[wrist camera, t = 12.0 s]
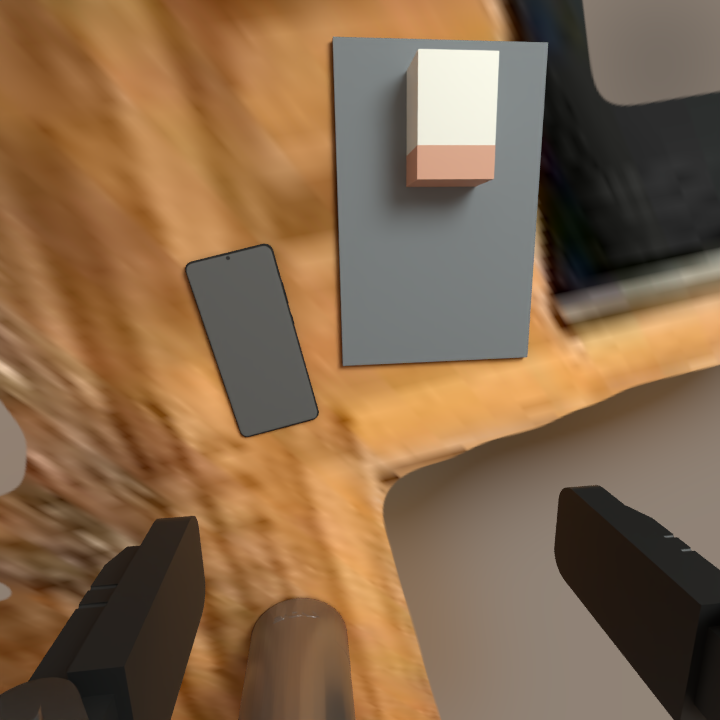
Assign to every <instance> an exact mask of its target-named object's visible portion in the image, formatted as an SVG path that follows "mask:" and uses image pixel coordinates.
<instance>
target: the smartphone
mask: <svg viewBox="0 0 720 720" xmlns="http://www.w3.org/2000/svg"><path fill="white" fill-rule="evenodd" d="M185 271H186V274H187V277H188V280H189V283H190V286H191V289H192V292H193V295H194V298H195V300H196V303H197V306H198V309H199V312H200V315H201V318H202V321H203V324H204V327H205V330H206V333H207V336H208V339H209V342H210V345H211V348H212V350H213V353H214V356H215V359H216V362H217V365H218V368H219V371H220V374H221V377H222V380H223V383H224V386H225V389H226V392H227V395H228V398H229V401H230V403H231V406H232V409H233V412H234V415H235V418H236V421H237V424H238V427H239V430H240V433H241V434H242V435H243V436H245V437H250V436H254V435H258V434H261V433H265V432H269V431H272V430H276V429H280V428H284V427H287V426H291V425H295V424H299V423H302V422H306V421H310V420H313V419H315V418H317V416H318V414H319V411H318V407H317V403H316V400H315V396H314V393H313V389H312V386H311V382H310V379H309V375H308V372H307V368H306V365H305V361H304V358H303V354H302V351H301V347H300V344H299V340H298V337H297V333H296V330H295V326H294V321H293V317H292V315H291V312H290V308H289V305H288V300H287V296H286V293H285V289H284V285H283V282H282V280H281V277H280V273H279V269H278V266H277V262H276V259H275V255H274V252H273V249H272V247H271V246H270V245H268V244H260V245H256V246H252V247H248V248H244V249H240V250H236V251H232V252H228V253H224V254H220V255H216V256H212V257H208V258H204V259H200V260H196V261H192V262H189V263H188V264H187V265H186V268H185Z"/></svg>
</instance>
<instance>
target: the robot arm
mask: <svg viewBox="0 0 720 720" xmlns="http://www.w3.org/2000/svg"><path fill="white" fill-rule="evenodd" d="M554 550H555V551H554V552H555V559H556V563H557V566H558V569H559V572H560V574H561V575H562V577H563V579H564V580H565V581H566V583H567V584H568V585H569V586H570V588H571V589H572V590H573V592H574V593H575V594H576V595H577V597H578V598H579V599H580V600H581V602H582V603H583V604H584V606H585V607H586V608H587V609H588V611H589V612H590V613H591V615H592V616H593V617H594V618H595V620H596V621H597V622H598V624H599V625H600V626H601V627H602V629H603V630H604V631H605V632H606V634H607V635H608V636H609V638H610V639H611V640H612V641H613V643H614V644H615V645H616V646H617V648H618V649H619V650H620V652H621V653H622V654H623V655H624V656H625V658H626V659H627V661H628V662H629V663H630V664H631V666H632V667H633V668H634V669H635V671H636V672H637V673H638V675H639V676H640V677H641V678H642V680H643V681H644V682H645V683H646V685H647V686H648V687H649V689H650V690H651V691H652V692H653V694H654V695H655V696H656V697H657V699H658V700H659V701H660V703H661V704H662V705H663V706H664V708H665V709H666V710H667V712H668V713H669V714H670V715H671V717H672V718H673V719H674V720H720V570H719V569H718V568H716V567H715V566H714V565H713V564H711V563H710V562H708V561H707V560H706V559H704V558H703V557H702V556H701V555H700V554H698V553H697V552H696V551H691V549H690V547H689V546H688V545H687V544H685V543H684V542H683V541H681V540H680V539H679V538H677V537H676V538H674V536H673V534H672V533H671V532H670V531H668V530H667V529H666V528H664V527H663V526H662V525H661V524H659V523H658V522H657V521H655V520H654V519H653V518H651V517H649V516H647V515H645V514H642V513H640V512H638V511H636V510H634V509H632V508H630V507H628V506H625V505H624V504H623V503H622V502H620V501H619V500H618V499H617V498H615V497H614V496H613V495H611V494H610V493H609V492H608V491H606V490H605V489H604V488H602V487H601V486H598V485H595V486H594V485H593V486H580V487H568V488H564V489H562V491H561V492H560V495H559V502H558V513H557V524H556V535H555V547H554ZM204 599H205V577H204V568H203V560H202V551H201V543H200V534H199V526H198V521H197V519H196V517H195V516H187V517H174V518H161V519H156V520H155V522H154V523H153V525H152V526H151V528H150V530H149V532H148V533H147V535H146V537H145V539H144V540H143V542H142V544H141V545H140V546H131V547H126V548H125V549H124V550H123V551H122V552H120V553H119V554H118V555H117V556H115V557H114V558H113V559H112V560H111V561H109V562H108V563H107V564H106V565H105V566H104V567H103V569H102V570H101V572H100V573H99V575H98V576H97V578H96V579H95V581H94V582H93V584H92V585H91V590H90V591H87V593H86V594H85V596H84V598H83V599H82V601H81V602H80V604H79V608H78V609H76V610H75V611H74V613H73V614H72V616H71V617H70V619H69V620H68V622H67V623H66V625H65V626H64V628H63V629H62V631H61V632H60V634H59V636H58V637H57V639H56V640H55V642H54V643H53V645H52V646H51V648H50V649H49V651H48V652H47V654H46V655H45V657H44V658H43V660H42V661H41V663H40V664H39V666H38V667H37V669H36V670H35V672H34V674H33V675H32V677H31V678H30V680H29V681H28V682H26V683H23V684H21V685H18V686H16V687H14V688H12V689H10V690H8V691H6V692H4V693H3V694H1V695H0V720H171V716H172V713H173V710H174V706H175V703H176V700H177V696H178V693H179V690H180V686H181V683H182V679H183V676H184V673H185V669H186V666H187V663H188V659H189V656H190V653H191V649H192V646H193V643H194V639H195V636H196V633H197V629H198V626H199V623H200V619H201V616H202V612H203V607H204ZM238 720H355V710H354V700H353V690H352V680H351V668H350V658H349V648H348V637H347V629H346V626H345V622H344V620H343V619H342V617H341V615H340V614H339V613H338V612H337V611H336V610H335V609H334V608H333V607H331V606H330V605H328V604H326V603H324V602H321V601H319V600H315V599H309V598H296V599H291V600H286V601H284V602H281V603H278V604H276V605H275V606H273V607H271V608H270V609H268V610H267V611H266V612H265V613H264V614H263V615H262V616H261V617H260V618H259V620H258V621H257V622H256V624H255V626H254V629H253V631H252V636H251V642H250V649H249V655H248V661H247V668H246V673H245V679H244V686H243V692H242V699H241V705H240V712H239V719H238Z"/></svg>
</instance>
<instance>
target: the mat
mask: <svg viewBox="0 0 720 720" xmlns="http://www.w3.org/2000/svg"><path fill="white" fill-rule="evenodd" d="M418 49H447V50H489V51H499V70H498V94H497V117H496V140H495V168H494V179H493V180H490V181H488V182H485V183H483V184H481V185H478V186H476V187H406V156H407V69H408V67H409V65H410V63H411V62H412V60H413V58H414V56H415V54H416V52H417V50H418ZM547 51H548V43H543V42H506V41H468V40H431V39H394V38H357V37H333V71H334V103H335V135H336V167H337V199H338V231H339V263H340V295H341V327H342V359H343V366H350V365H371V364H392V363H413V362H434V361H456V360H477V359H498V358H519V357H527V353H528V338H529V323H530V308H531V293H532V277H533V262H534V247H535V232H536V217H537V202H538V187H539V172H540V157H541V142H542V127H543V112H544V97H545V82H546V66H547Z"/></svg>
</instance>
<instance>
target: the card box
mask: <svg viewBox="0 0 720 720" xmlns="http://www.w3.org/2000/svg"><path fill="white" fill-rule="evenodd" d="M498 70H499V51H489V50H447V49H418V50H417V52H416V54H415V56H414V58H413V60H412V62H411V63H410V65H409V67H408V69H407V156H406V187H476V186H478V185H481V184H483V183H485V182H488V181H490V180H493V179H494V168H495V140H496V117H497V94H498Z"/></svg>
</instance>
